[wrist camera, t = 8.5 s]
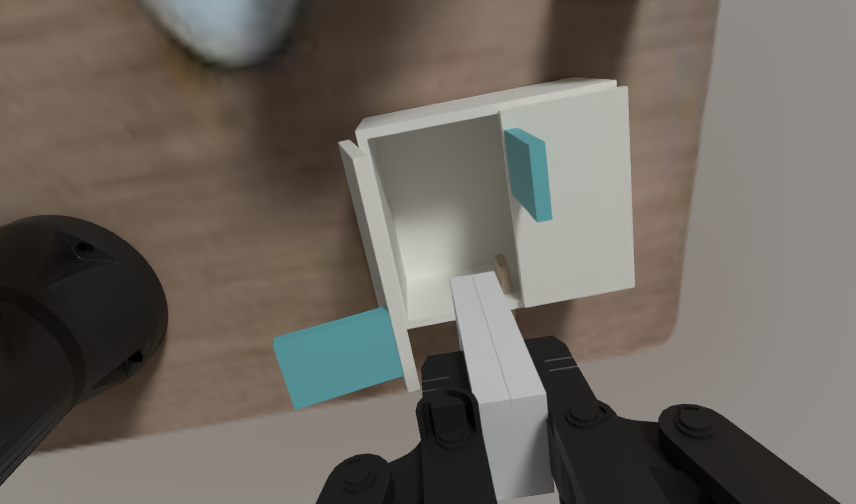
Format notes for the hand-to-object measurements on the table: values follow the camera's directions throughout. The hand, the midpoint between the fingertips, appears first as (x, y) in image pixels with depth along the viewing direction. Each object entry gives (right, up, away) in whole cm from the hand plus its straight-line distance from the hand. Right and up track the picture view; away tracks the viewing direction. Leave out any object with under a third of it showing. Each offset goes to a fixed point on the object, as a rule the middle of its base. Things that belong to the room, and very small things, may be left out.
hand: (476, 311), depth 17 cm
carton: (+3, +6, +23) cm, 24 cm away
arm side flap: (-4, +2, +12) cm, 13 cm away
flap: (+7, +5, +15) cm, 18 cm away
